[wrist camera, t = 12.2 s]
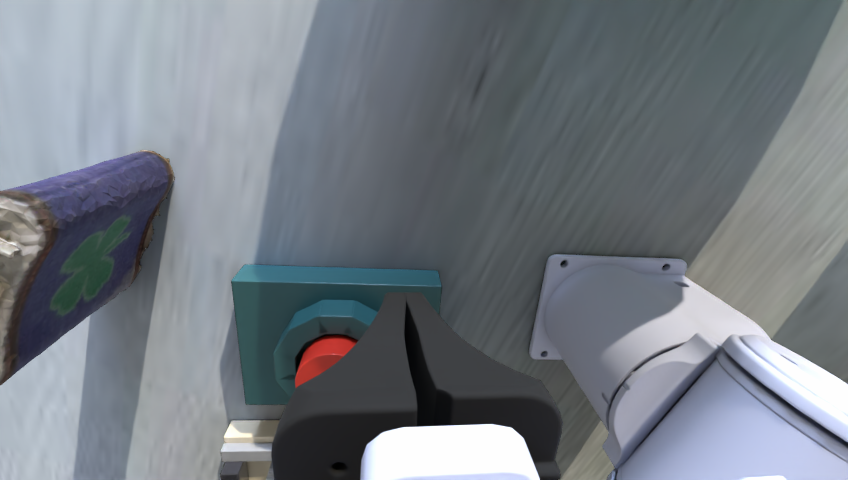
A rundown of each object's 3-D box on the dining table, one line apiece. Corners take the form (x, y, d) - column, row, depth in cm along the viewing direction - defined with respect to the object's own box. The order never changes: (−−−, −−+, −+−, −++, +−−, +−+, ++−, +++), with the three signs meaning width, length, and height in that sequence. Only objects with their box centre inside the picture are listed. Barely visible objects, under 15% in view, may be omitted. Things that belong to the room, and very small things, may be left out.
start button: (371, 334, 22) (370, 354, 21) (370, 390, 24) (368, 412, 22) (300, 334, 22) (292, 353, 20) (302, 390, 23) (296, 413, 22)
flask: (132, 293, 24) (-51, 438, 14) (81, 273, 23) (-150, 410, 13) (184, 163, 22) (6, 228, 12) (129, 136, 21) (-112, 180, 11)
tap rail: (475, 418, 30) (484, 453, 27) (464, 491, 33) (471, 529, 30) (231, 420, 28) (213, 457, 25) (242, 496, 31) (226, 538, 28)
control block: (438, 269, 25) (446, 301, 21) (427, 381, 28) (433, 426, 25) (244, 263, 24) (217, 296, 20) (256, 381, 27) (234, 428, 24)
